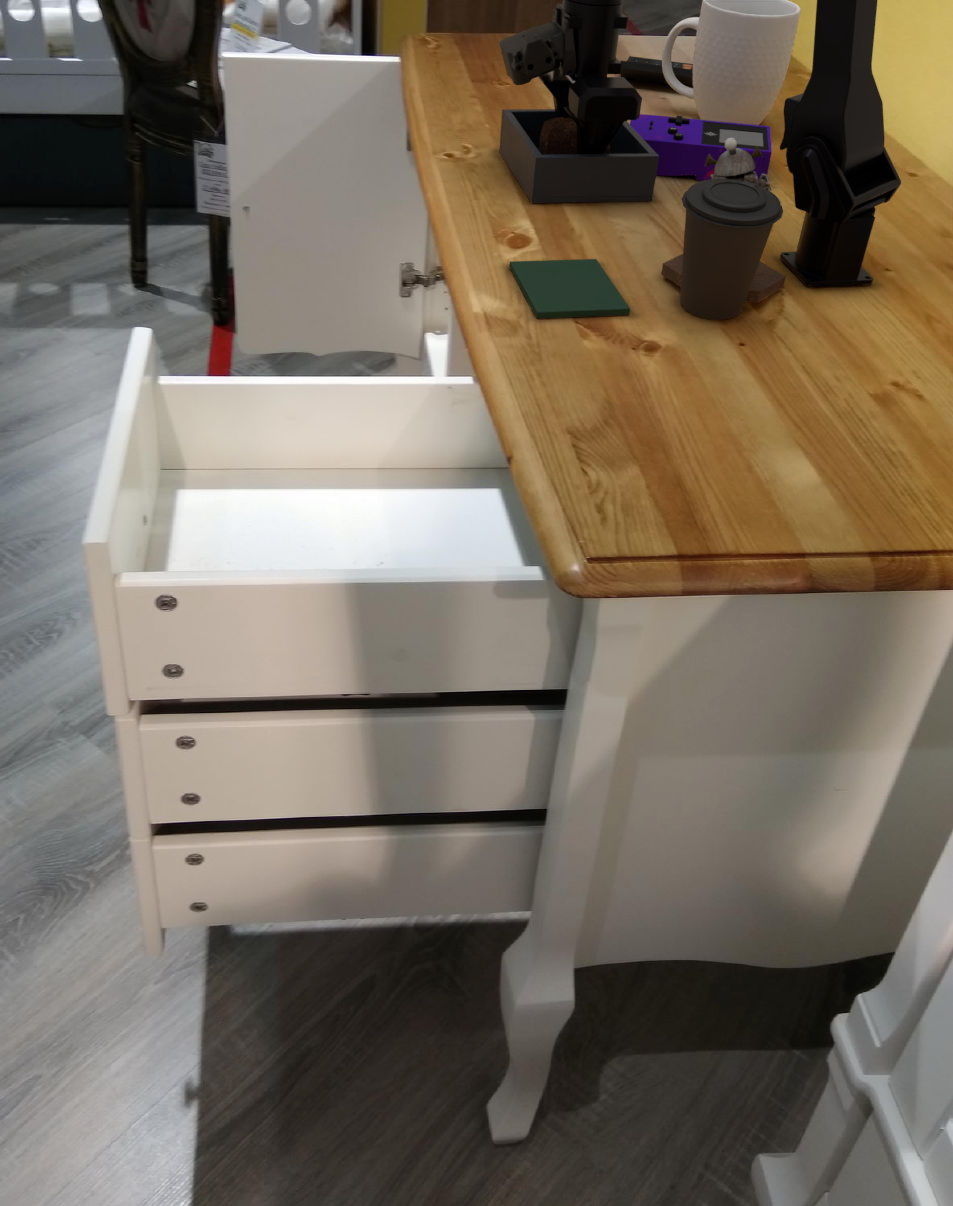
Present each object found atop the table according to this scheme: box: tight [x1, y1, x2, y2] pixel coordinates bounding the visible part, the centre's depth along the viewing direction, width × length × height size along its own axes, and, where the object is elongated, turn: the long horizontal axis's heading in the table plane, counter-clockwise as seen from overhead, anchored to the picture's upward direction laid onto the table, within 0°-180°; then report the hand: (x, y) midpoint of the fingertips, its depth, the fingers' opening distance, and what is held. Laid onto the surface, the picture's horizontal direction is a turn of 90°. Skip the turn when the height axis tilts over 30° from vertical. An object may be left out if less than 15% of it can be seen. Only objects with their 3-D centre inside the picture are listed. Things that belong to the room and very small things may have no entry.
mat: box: [508, 258, 631, 320], centre depth 100 cm, size 10×8×1 cm
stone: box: [538, 117, 610, 155], centre depth 120 cm, size 8×3×5 cm, turn 99°
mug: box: [661, 0, 802, 125], centre depth 135 cm, size 15×11×13 cm
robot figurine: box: [660, 138, 787, 304], centre depth 99 cm, size 11×9×12 cm
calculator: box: [619, 55, 693, 88], centre depth 150 cm, size 9×12×3 cm
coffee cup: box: [679, 179, 784, 321], centre depth 96 cm, size 8×8×10 cm
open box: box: [498, 108, 659, 204], centre depth 120 cm, size 15×13×4 cm
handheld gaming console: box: [629, 113, 773, 182], centre depth 126 cm, size 9×5×15 cm
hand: (574, 164), depth 121 cm, fingers open, 7 cm apart
